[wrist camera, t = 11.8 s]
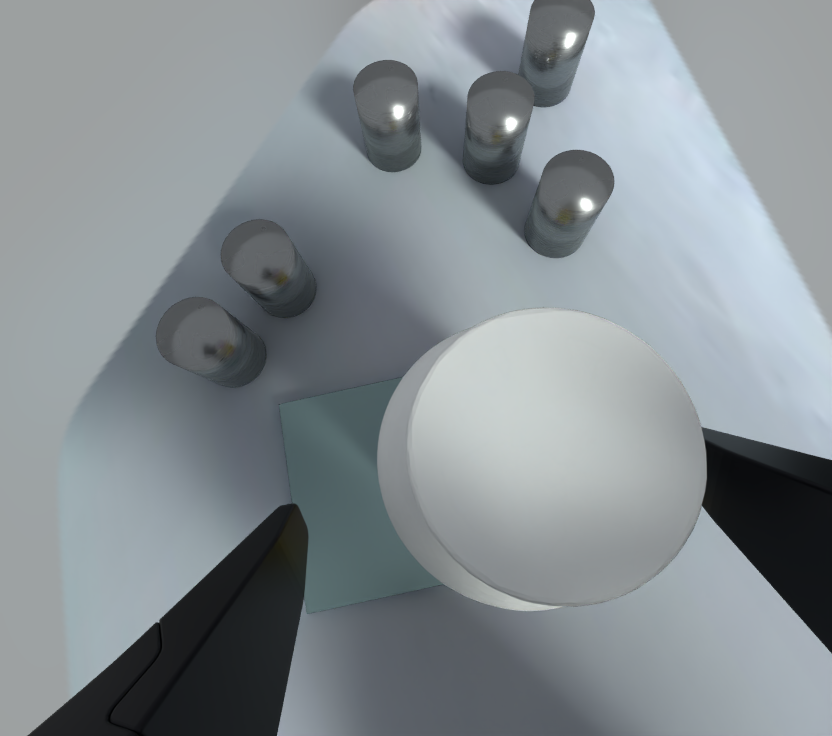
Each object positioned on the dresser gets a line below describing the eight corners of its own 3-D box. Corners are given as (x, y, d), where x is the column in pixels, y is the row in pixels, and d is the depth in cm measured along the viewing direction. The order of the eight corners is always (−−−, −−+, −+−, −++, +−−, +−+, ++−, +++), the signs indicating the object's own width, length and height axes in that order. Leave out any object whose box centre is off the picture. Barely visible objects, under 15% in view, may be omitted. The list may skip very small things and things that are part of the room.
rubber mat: (677, 530, 19) (684, 531, 18) (310, 610, 19) (306, 614, 18) (610, 334, 21) (614, 330, 20) (283, 406, 21) (278, 404, 20)
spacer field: (651, 296, 21) (697, 255, 18) (209, 393, 21) (158, 374, 18) (561, 58, 25) (583, -18, 21) (186, 141, 25) (139, 80, 21)
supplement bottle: (427, 375, 20) (406, 213, 8) (570, 410, 20) (795, 291, 7) (388, 522, 19) (288, 606, 6) (542, 566, 18) (764, 756, 6)
